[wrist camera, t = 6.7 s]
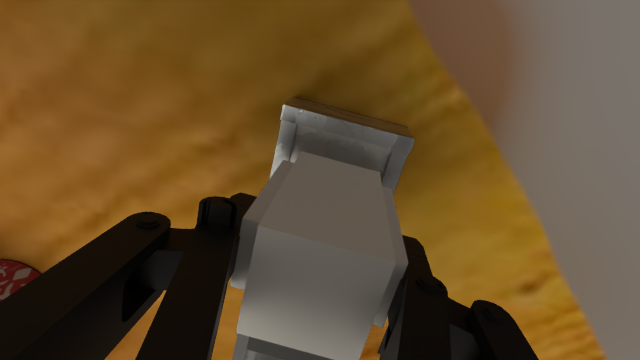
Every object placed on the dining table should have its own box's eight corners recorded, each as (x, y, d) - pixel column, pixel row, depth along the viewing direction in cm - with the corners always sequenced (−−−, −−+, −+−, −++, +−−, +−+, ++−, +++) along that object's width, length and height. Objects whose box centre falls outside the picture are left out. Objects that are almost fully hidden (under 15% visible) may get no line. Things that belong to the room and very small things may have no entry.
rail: (293, 96, 21) (237, 138, 11) (407, 126, 21) (449, 194, 11) (233, 379, 30) (171, 541, 20) (313, 401, 30) (291, 574, 20)
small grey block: (300, 151, 17) (258, 225, 10) (379, 172, 17) (395, 262, 10) (280, 237, 19) (231, 355, 12) (352, 256, 19) (348, 387, 12)
